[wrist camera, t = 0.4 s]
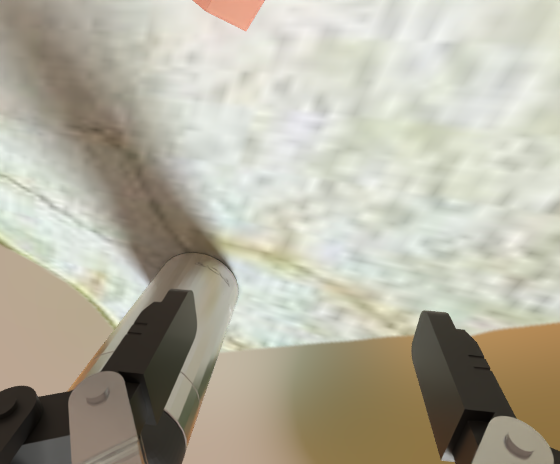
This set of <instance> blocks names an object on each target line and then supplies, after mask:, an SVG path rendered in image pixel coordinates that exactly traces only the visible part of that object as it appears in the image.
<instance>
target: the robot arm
mask: <svg viewBox="0 0 560 464" xmlns="http://www.w3.org/2000/svg"><path fill="white" fill-rule="evenodd" d="M237 299H238V285H237V282H236V279H235V277H234V275H233V274H232V272H231V271H230V270H229V269H228V268H227V267H226V266H225V265H224V264H223V263H221V262H220V261H218V260H217V259H215V258H213V257H211V256H208V255H205V254H200V253H184V254H180V255H177V256H175V257H173V258H171V259H170V260H169V261H168V262H166V264H165V265H164V266H163V267H162V269H161V270H160V271H159V273H158V274H157V275H156V277H155V278H154V279H153V280H152V282H151V283H150V284H149V285H148V287H147V288H146V289H145V290H144V292H143V293H142V294H141V296H140V297H139V298H138V300H137V301H136V302H135V303H134V305H133V306H132V307H131V309H130V310H129V311H128V313H127V314H126V315H125V316H124V318H123V319H122V320H121V322H120V323H119V324H118V326H117V327H116V328H115V329H114V331H113V332H112V333H111V335H110V336H109V337H108V339H107V340H106V341H105V342H104V344H103V345H102V346H101V348H100V349H99V350H98V352H97V353H96V354H95V356H94V357H93V358H92V359H91V361H90V362H89V363H88V365H87V366H86V367H85V369H84V370H83V371H82V373H81V374H80V375H79V377H78V378H77V379H76V380H75V382H74V383H73V384H72V386H71V387H70V388H69V390H68V391H67V392H63V393H57V394H52V395H46V396H41V397H38V396H37V394H36V392H35V391H34V389H32V388H31V387H28V386H16V387H11V388H8V389H5V390H3V391H1V392H0V464H182V461H183V458H184V455H185V452H186V448H187V446H188V443H189V440H190V437H191V434H192V431H193V428H194V425H195V422H196V419H197V417H198V414H199V410H200V407H201V404H202V401H203V398H204V396H205V393H206V390H207V386H208V384H209V381H210V378H211V375H212V372H213V369H214V366H215V363H216V361H217V358H218V355H219V352H220V349H221V346H222V343H223V340H224V337H225V334H226V331H227V329H228V326H229V323H230V320H231V317H232V314H233V311H234V308H235V305H236V302H237ZM412 360H413V364H414V367H415V371H416V374H417V378H418V381H419V385H420V388H421V392H422V395H423V399H424V402H425V406H426V409H427V413H428V416H429V420H430V423H431V427H432V430H433V434H434V437H435V441H436V444H437V448H438V451H439V455H440V458H441V460H443V461H451V462H455V463H456V464H560V451H558V450H555V449H553V448H551V447H549V445H548V444H547V442H546V441H545V440H544V438H543V437H542V436H541V435H540V434H539V433H538V432H537V431H536V430H534V429H533V428H532V427H530V426H529V425H527V424H526V423H524V422H522V421H520V420H518V419H517V418H516V417H515V415H514V413H513V411H512V409H511V407H510V405H509V403H508V401H507V400H506V398H505V396H504V394H503V392H502V390H501V388H500V386H499V384H498V382H497V380H496V378H495V376H494V374H493V373H492V371H490V367H489V365H488V363H487V361H486V359H484V355H483V353H482V351H481V350H480V348H479V346H478V344H477V342H476V341H475V340H474V339H473V338H472V337H471V336H470V335H469V334H468V333H467V332H466V331H465V330H461V329H456V328H455V326H454V324H453V322H452V320H451V318H450V316H449V314H448V313H446V312H435V311H422V313H421V315H420V318H419V322H418V325H417V328H416V332H415V335H414V339H413V342H412Z"/></svg>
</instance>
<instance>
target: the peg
mask: <svg viewBox="0 0 560 464" xmlns="http://www.w3.org/2000/svg"><path fill="white" fill-rule="evenodd" d="M193 1H194V2H195V3H196V4H198V5H199V6H200V7H201V8H202V9H204V10H205V11H206V12H208V13H210V14H212V15H214V16H216V17H218V18H220V19H222V20H224V21H226V22H228V23H230V24H232V25H234V26H236V27H238V28H240V29H242V30H244V31H247V29H248V27H249V26H250V24H251V22H252V21H253V19H254V17H255V16H256V14H257V12H258V11H259V9H260V7H261V6H262V4H263V3H264V1H265V0H193Z"/></svg>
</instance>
